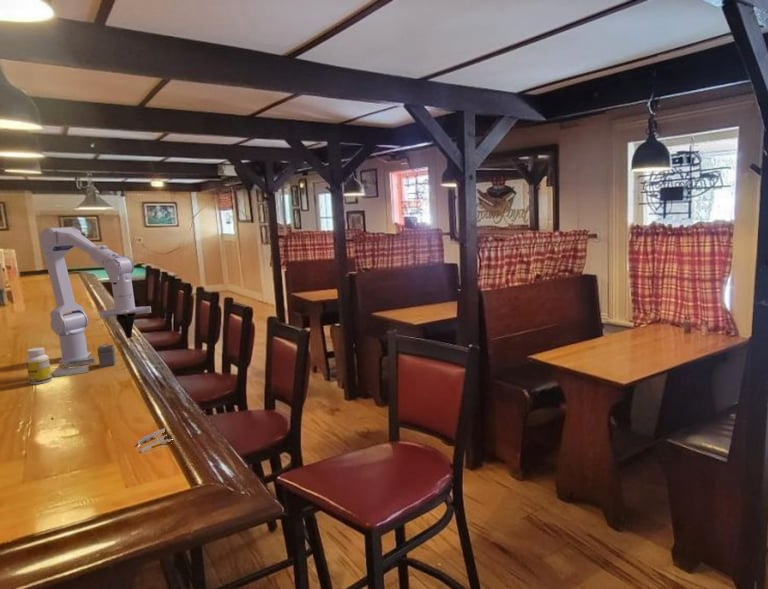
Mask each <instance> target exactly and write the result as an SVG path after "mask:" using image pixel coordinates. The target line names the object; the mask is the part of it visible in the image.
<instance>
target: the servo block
mask: <svg viewBox="0 0 768 589" xmlns="http://www.w3.org/2000/svg"><path fill="white" fill-rule="evenodd" d="M114 346H115V345H114V344H107V343H104V344H101V345H99V346H98V347H97V357H98V363H99V368H106V367H112V366H113V367H114V366H115V365H116V363H117V361H116V355H115V354H116V353H115V350H116V349H115V347H114Z"/></svg>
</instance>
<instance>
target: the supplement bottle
mask: <svg viewBox="0 0 768 589" xmlns="http://www.w3.org/2000/svg"><path fill="white" fill-rule="evenodd" d="M45 351H46V350H45V348H44V347H41V346H40V347H33V348H30V349H27V355H28V356H29V357H27V358H26V360H25V361H26V368H27V374H28V380H29V383H30V385H42V384H47V383H49V382H51V381H52V380H53V377H52V370H51V364H50V357H49V355H47V354H45V353H46V352H45Z"/></svg>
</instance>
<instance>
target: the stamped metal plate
mask: <svg viewBox="0 0 768 589" xmlns="http://www.w3.org/2000/svg"><path fill="white" fill-rule="evenodd" d="M165 428H166V427H165ZM165 428H164V427H163V428H162V429H159V430H157V431H154V432H151V433H149V434H147V435H144V436H142V437H141V438H140V439H139V440H138V441H137V446H136V447H135V448H134V449H135V450H137V451H139V452H141V453H143V454H145V455H148V454H151V453H154V452H157V451H159V450H161V449H163V448H166V447H167V445H166V444H165V442H167V443H169V442H170V441H171V440H173V439H164V437H165V436H167V434H166V435H164V436H161V437H158V438H155V439H154V442H153V443H150V444H147V445H145V446H142V447H140V446H141V445H143V444H145V443H147V442H149V441H152V440H151V439H152V438H153V437H154V436H157V435H159V434H162V433H164V432H165ZM159 440H160V441H159ZM157 444H160V448H158V449H155V450H153V451H150V452H148V453H147V451H149V450H151V449H152V446H155V445H157ZM138 447H140V449H138Z"/></svg>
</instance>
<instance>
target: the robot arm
mask: <svg viewBox="0 0 768 589" xmlns="http://www.w3.org/2000/svg"><path fill="white" fill-rule="evenodd" d="M38 237H39V241H40V246H41V250H42V253H43V256H44V259H45V265H46V268H47V272H48V276H49V280H50V284H51V288H52V292H53V296H54V299H55V300H54V301H55V305H56V306H55V307H54V309H53V310H52V311H50V313H49V315H50V329H52V330H51V331H53V333H55V334H56V336H58V339H59V344H60V345H59V346H60V351H61V352H60V353H61V358H60V359H59V361H58V363H62V362H63V361H70V360H77V359H85V358H89V356H90V354H91V353H92V351H88V347H87V346H88V345H87V344H88V343H87V338H86V335H85V331H86V328H87V327H88V325H89V319H88V318H89V317H88V316H87V314H86V313H85V311H84V306H82V305H81V304H79V303H77V302H76V301H75V297H74V292H73V289H72V283H71V279H70V276H69V272H68V267H67V263H66V259H65V256H66V255H67V254H68V253H69V252H70V251H71V250H73V249H74V248H76V249H78V250H81V251H83V252H84V253H86V254H88V255H89V259H90V260H91V261H92V262H94V263H95V264H97V265H99V267H101V268H103V269H104V272H105V273H106V274H107V276H108V280H109V282H110V283H111V289H112V295H113V304H114V309H108V310H101V311H99V319H104V318H105V319H106V318H111V317H113V318H114V317H116V321H117V322H118V324H119V325H120V326H121V328H122V330H123V332H124V334H125V338H126V339H130V338H133V328H134V327H133V326H134V323H135V319H136V317H137V315H140V314H149V313H151V314H152V308H151V305H150V306H149V305H148V306H136V303H135V296H134V288H133V283H132V282H133V281H132V274H133V272H134V271H135V264H134V261H133V260H132V259H131V258H130V257H129V256H128V255H127V256H126V255H125V256H122V255H120V254H119V253H118V252H114V251H113V250H111V249H109V247H108V246H107V245H105V244H103V245H101V244H100V245H96V244H95V243H94V242H92V241H91V240H89V238H87V237H85V236H84V234H83V235H82V232H81V230H79V229H77V228H76V227H75V226H69V227H66V226H64V227H45V228H43V229H42V230H41V232H40V234H39V235H38Z"/></svg>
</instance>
